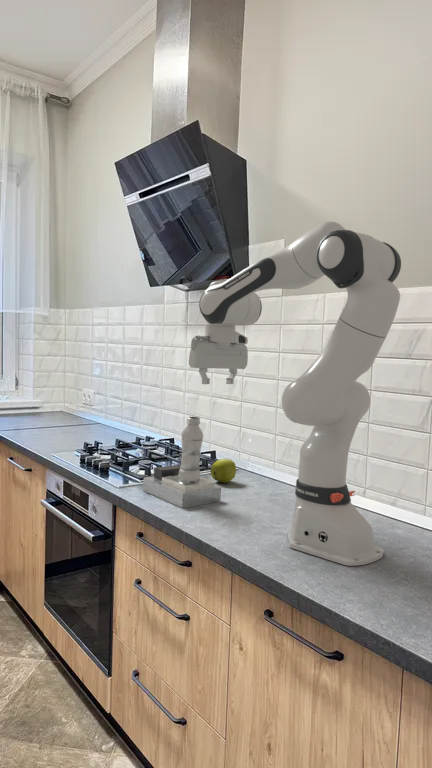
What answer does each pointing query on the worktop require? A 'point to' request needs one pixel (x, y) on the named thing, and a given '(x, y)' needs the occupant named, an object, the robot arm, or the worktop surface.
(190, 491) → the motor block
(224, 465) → the apple
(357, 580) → the worktop surface
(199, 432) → the plastic bottle
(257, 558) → the worktop surface
